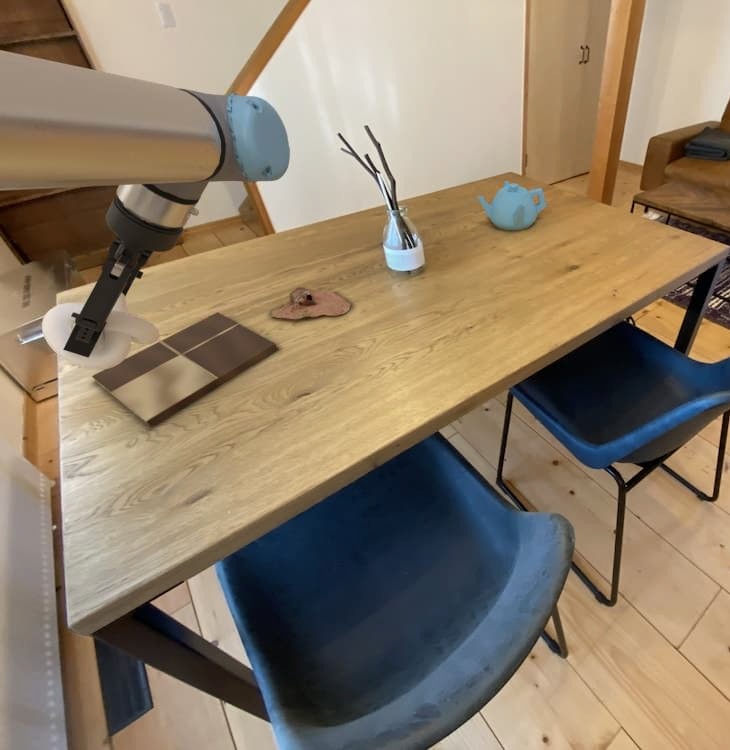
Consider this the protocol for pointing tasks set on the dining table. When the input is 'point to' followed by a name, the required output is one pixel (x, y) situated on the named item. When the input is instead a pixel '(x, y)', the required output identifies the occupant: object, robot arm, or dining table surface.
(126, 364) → the board
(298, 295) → the clay slab
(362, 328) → the dining table surface
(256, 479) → the dining table surface
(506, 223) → the teapot
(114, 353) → the white knot sculpture
